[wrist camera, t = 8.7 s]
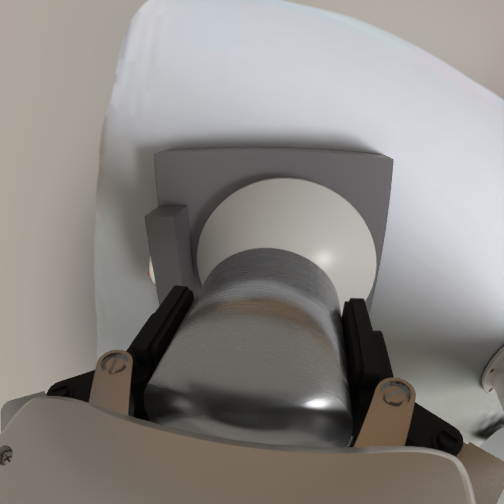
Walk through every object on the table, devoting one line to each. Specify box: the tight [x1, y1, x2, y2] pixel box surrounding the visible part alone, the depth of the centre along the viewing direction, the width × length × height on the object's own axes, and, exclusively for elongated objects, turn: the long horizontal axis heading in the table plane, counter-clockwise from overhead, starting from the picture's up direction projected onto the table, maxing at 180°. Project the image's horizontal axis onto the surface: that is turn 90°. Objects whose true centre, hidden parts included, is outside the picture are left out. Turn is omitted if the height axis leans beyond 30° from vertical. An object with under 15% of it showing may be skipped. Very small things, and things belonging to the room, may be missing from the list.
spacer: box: [143, 248, 353, 447], centre depth 10 cm, size 6×6×6 cm
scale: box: [145, 147, 393, 316], centre depth 25 cm, size 19×19×6 cm
